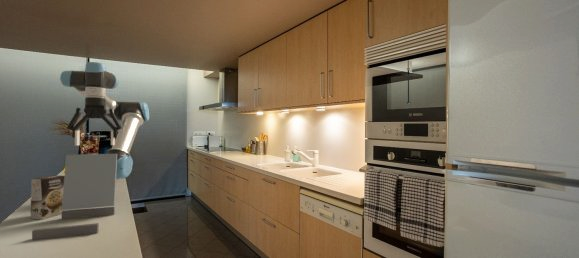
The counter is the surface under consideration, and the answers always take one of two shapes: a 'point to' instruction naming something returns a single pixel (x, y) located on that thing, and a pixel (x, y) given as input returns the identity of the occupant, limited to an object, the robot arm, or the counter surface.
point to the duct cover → (89, 181)
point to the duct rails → (74, 229)
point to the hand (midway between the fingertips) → (95, 145)
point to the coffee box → (46, 196)
